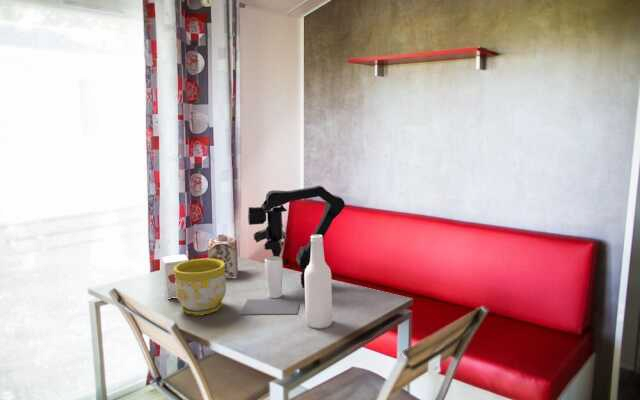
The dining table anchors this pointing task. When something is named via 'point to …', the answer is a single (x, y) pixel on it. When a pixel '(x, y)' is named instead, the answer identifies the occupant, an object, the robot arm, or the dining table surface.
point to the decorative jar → (224, 253)
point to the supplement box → (171, 273)
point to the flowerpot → (200, 285)
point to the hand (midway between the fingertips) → (276, 261)
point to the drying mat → (270, 307)
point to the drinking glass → (274, 276)
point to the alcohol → (318, 287)
